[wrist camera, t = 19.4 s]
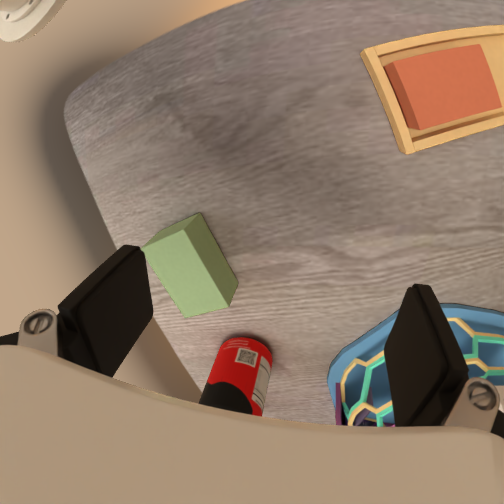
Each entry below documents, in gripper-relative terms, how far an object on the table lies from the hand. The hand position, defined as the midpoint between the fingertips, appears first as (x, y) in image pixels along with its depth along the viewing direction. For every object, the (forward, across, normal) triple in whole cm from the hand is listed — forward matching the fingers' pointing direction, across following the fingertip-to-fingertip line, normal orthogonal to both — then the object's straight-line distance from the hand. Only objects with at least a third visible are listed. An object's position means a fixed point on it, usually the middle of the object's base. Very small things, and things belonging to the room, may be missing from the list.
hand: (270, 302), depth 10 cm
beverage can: (+16, +3, +20) cm, 26 cm away
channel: (+16, -14, -12) cm, 25 cm away
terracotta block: (+16, -11, -10) cm, 22 cm away
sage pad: (+16, +8, +8) cm, 20 cm away
